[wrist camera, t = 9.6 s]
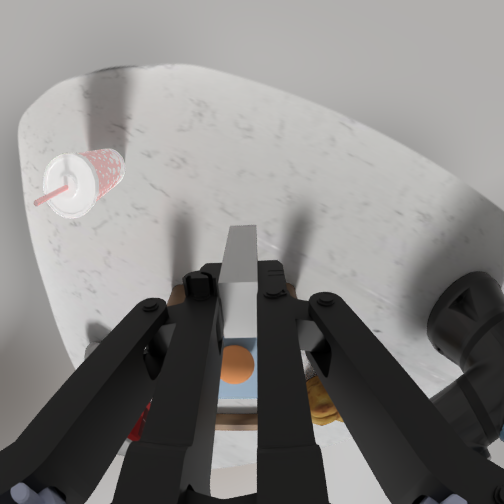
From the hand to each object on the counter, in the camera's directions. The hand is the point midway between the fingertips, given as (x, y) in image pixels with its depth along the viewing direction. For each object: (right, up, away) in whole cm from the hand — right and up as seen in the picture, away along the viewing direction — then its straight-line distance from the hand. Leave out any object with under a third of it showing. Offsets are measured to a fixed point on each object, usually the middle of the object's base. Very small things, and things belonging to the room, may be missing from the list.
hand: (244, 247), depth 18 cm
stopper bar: (-1, -30, +32) cm, 44 cm away
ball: (-2, -16, +22) cm, 27 cm away
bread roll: (+14, -23, +29) cm, 39 cm away
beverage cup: (-16, +9, +13) cm, 23 cm away
